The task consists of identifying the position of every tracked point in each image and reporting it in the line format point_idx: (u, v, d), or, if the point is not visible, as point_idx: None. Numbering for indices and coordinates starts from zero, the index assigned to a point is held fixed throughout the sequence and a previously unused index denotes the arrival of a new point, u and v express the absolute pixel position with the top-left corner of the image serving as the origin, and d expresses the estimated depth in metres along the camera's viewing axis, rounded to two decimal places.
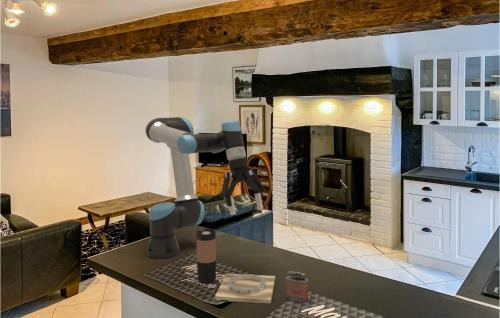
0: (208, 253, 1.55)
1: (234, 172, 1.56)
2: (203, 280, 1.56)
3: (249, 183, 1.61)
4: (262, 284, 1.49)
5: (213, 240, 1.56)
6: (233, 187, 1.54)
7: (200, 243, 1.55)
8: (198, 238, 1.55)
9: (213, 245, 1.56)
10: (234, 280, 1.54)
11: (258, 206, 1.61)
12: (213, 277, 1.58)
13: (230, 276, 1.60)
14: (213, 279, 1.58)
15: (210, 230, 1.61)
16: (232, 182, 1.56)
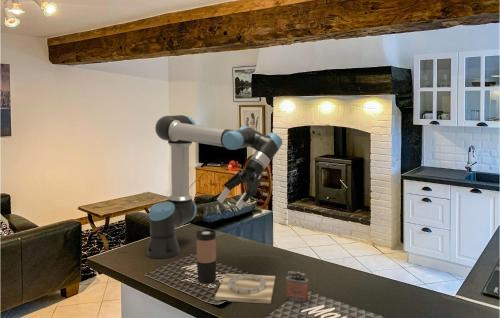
0: (208, 253, 1.55)
1: None
2: (203, 280, 1.56)
3: (238, 182, 1.69)
4: (262, 284, 1.49)
5: (213, 240, 1.56)
6: None
7: (200, 243, 1.55)
8: (198, 238, 1.55)
9: (213, 245, 1.56)
10: (234, 280, 1.54)
11: (220, 198, 1.68)
12: (213, 277, 1.58)
13: (230, 276, 1.60)
14: (213, 279, 1.58)
15: (210, 230, 1.61)
16: (251, 182, 1.63)
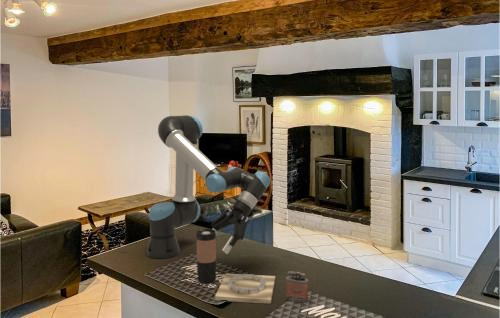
0: (208, 253, 1.55)
1: None
2: (203, 280, 1.56)
3: (225, 222, 1.66)
4: (262, 284, 1.49)
5: (213, 240, 1.56)
6: None
7: (200, 243, 1.55)
8: (198, 238, 1.55)
9: (213, 245, 1.56)
10: (234, 280, 1.54)
11: None
12: (213, 277, 1.58)
13: (230, 276, 1.60)
14: (213, 279, 1.58)
15: (210, 230, 1.61)
16: (238, 224, 1.60)
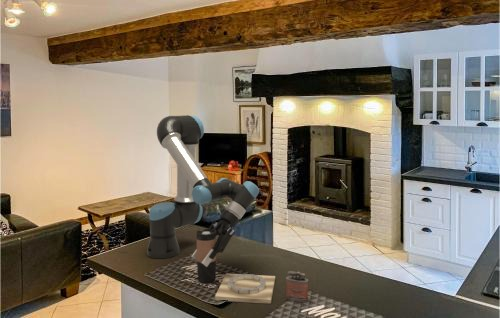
0: None
1: None
2: (203, 280, 1.56)
3: None
4: (262, 284, 1.49)
5: (213, 240, 1.56)
6: None
7: (200, 243, 1.55)
8: (198, 238, 1.55)
9: (213, 245, 1.56)
10: (234, 280, 1.54)
11: (195, 255, 1.60)
12: (213, 277, 1.58)
13: (230, 276, 1.60)
14: (213, 279, 1.58)
15: (210, 230, 1.61)
16: (222, 236, 1.59)
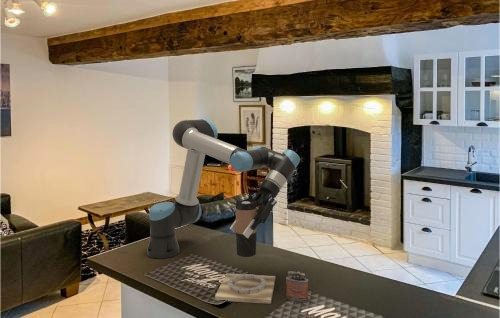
0: None
1: None
2: (243, 252, 1.46)
3: None
4: (262, 284, 1.49)
5: (254, 210, 1.46)
6: None
7: (240, 213, 1.45)
8: (238, 208, 1.45)
9: (254, 215, 1.46)
10: (234, 280, 1.54)
11: (234, 227, 1.50)
12: (253, 250, 1.48)
13: (230, 276, 1.60)
14: (254, 252, 1.48)
15: (249, 200, 1.51)
16: (263, 206, 1.49)
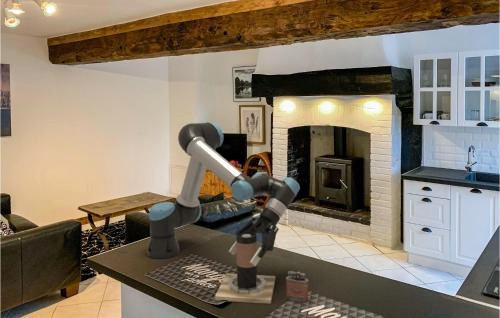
0: (250, 257, 1.47)
1: None
2: (244, 285, 1.48)
3: None
4: (262, 284, 1.49)
5: (254, 243, 1.47)
6: None
7: (241, 246, 1.46)
8: (239, 241, 1.47)
9: (254, 249, 1.48)
10: (234, 280, 1.54)
11: (233, 250, 1.54)
12: (254, 283, 1.49)
13: (230, 276, 1.60)
14: (254, 284, 1.49)
15: (250, 233, 1.52)
16: (266, 234, 1.50)
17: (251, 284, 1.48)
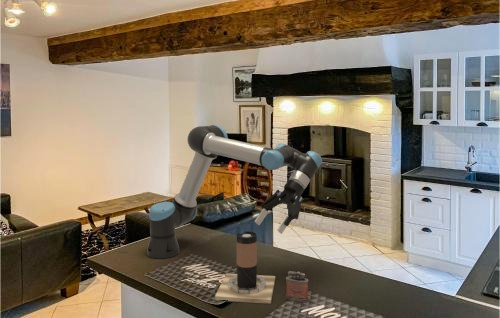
0: (250, 257, 1.47)
1: None
2: (244, 285, 1.48)
3: (276, 203, 1.62)
4: (262, 284, 1.49)
5: (254, 243, 1.47)
6: None
7: (241, 246, 1.46)
8: (239, 241, 1.47)
9: (254, 248, 1.48)
10: (234, 280, 1.54)
11: (258, 220, 1.60)
12: (254, 283, 1.49)
13: (230, 276, 1.60)
14: (254, 284, 1.49)
15: (250, 233, 1.52)
16: (291, 204, 1.56)
17: (251, 284, 1.48)
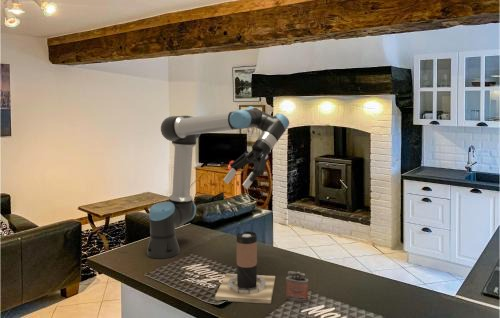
0: (250, 257, 1.47)
1: None
2: (244, 285, 1.48)
3: (244, 162, 1.68)
4: (262, 284, 1.49)
5: (254, 243, 1.48)
6: None
7: (241, 246, 1.46)
8: (239, 241, 1.47)
9: (254, 248, 1.48)
10: (234, 280, 1.54)
11: (227, 179, 1.66)
12: (254, 283, 1.49)
13: (230, 276, 1.60)
14: (254, 284, 1.49)
15: (250, 233, 1.52)
16: (258, 162, 1.62)
17: (251, 284, 1.48)
